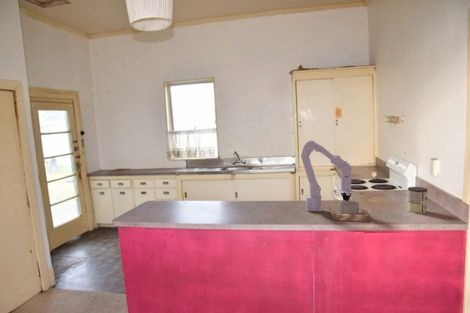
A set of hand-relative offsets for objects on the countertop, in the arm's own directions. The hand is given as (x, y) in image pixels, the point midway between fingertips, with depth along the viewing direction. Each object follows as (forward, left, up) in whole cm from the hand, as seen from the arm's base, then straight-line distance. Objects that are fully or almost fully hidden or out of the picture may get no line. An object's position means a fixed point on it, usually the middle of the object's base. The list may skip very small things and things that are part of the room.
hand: (345, 204), depth 193 cm
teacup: (0, -8, -5) cm, 9 cm away
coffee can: (+42, +3, -5) cm, 42 cm away
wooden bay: (0, -10, -4) cm, 10 cm away
